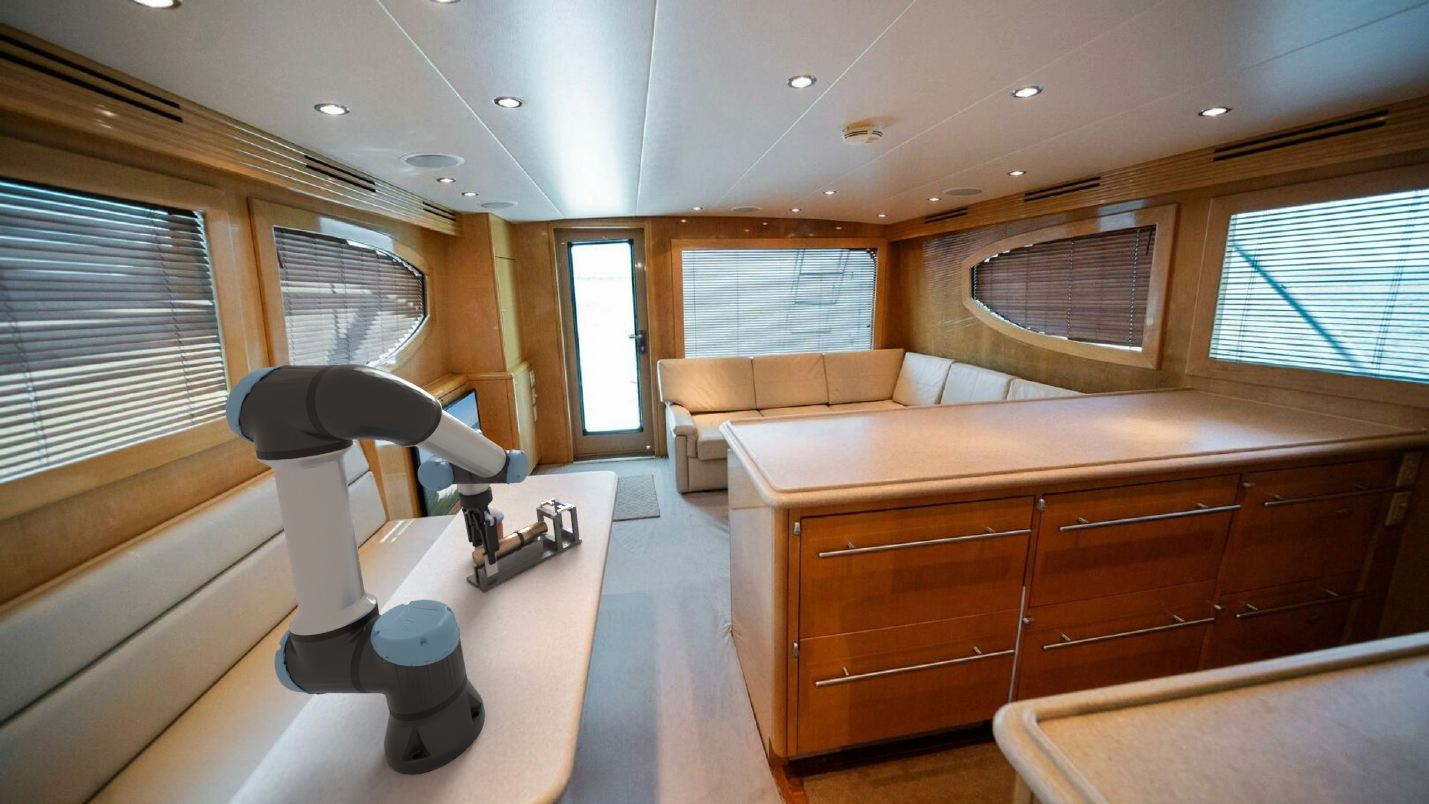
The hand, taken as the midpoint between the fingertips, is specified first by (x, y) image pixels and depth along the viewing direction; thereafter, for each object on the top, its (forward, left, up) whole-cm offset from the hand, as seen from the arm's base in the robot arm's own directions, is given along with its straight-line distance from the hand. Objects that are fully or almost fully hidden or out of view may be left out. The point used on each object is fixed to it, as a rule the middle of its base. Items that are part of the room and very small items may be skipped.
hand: (488, 570), depth 128 cm
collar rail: (+11, 0, -3) cm, 12 cm away
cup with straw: (+8, +14, -3) cm, 16 cm away
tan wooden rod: (+8, 0, +5) cm, 9 cm away
